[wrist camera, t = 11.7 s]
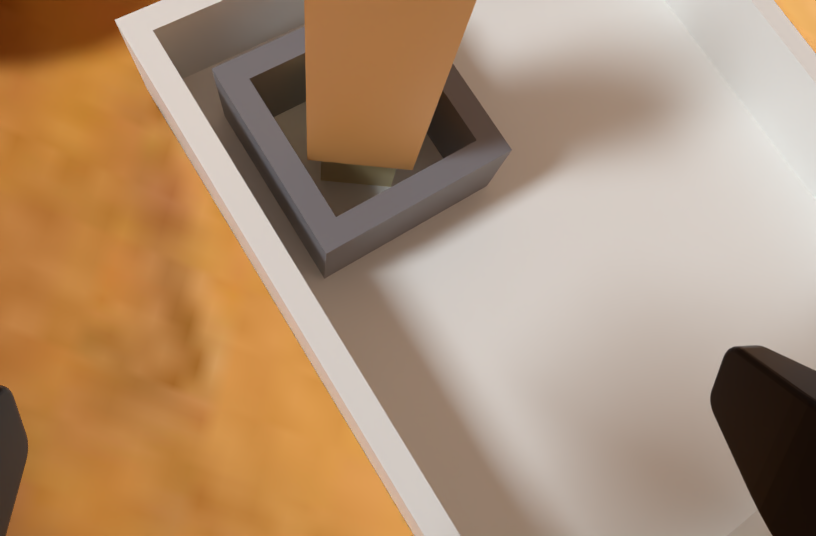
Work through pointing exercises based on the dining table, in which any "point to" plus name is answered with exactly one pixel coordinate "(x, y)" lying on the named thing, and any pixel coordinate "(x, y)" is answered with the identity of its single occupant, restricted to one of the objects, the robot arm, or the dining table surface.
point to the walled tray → (527, 248)
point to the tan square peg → (376, 81)
